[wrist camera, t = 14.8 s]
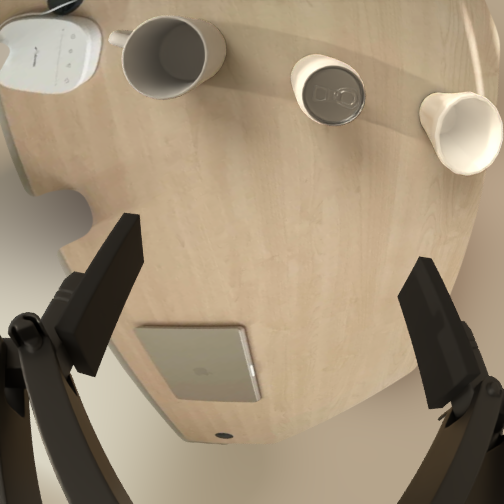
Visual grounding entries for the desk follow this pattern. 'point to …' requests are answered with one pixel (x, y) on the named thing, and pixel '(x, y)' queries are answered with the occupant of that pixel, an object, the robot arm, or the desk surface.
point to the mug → (170, 55)
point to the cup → (462, 130)
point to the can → (328, 90)
